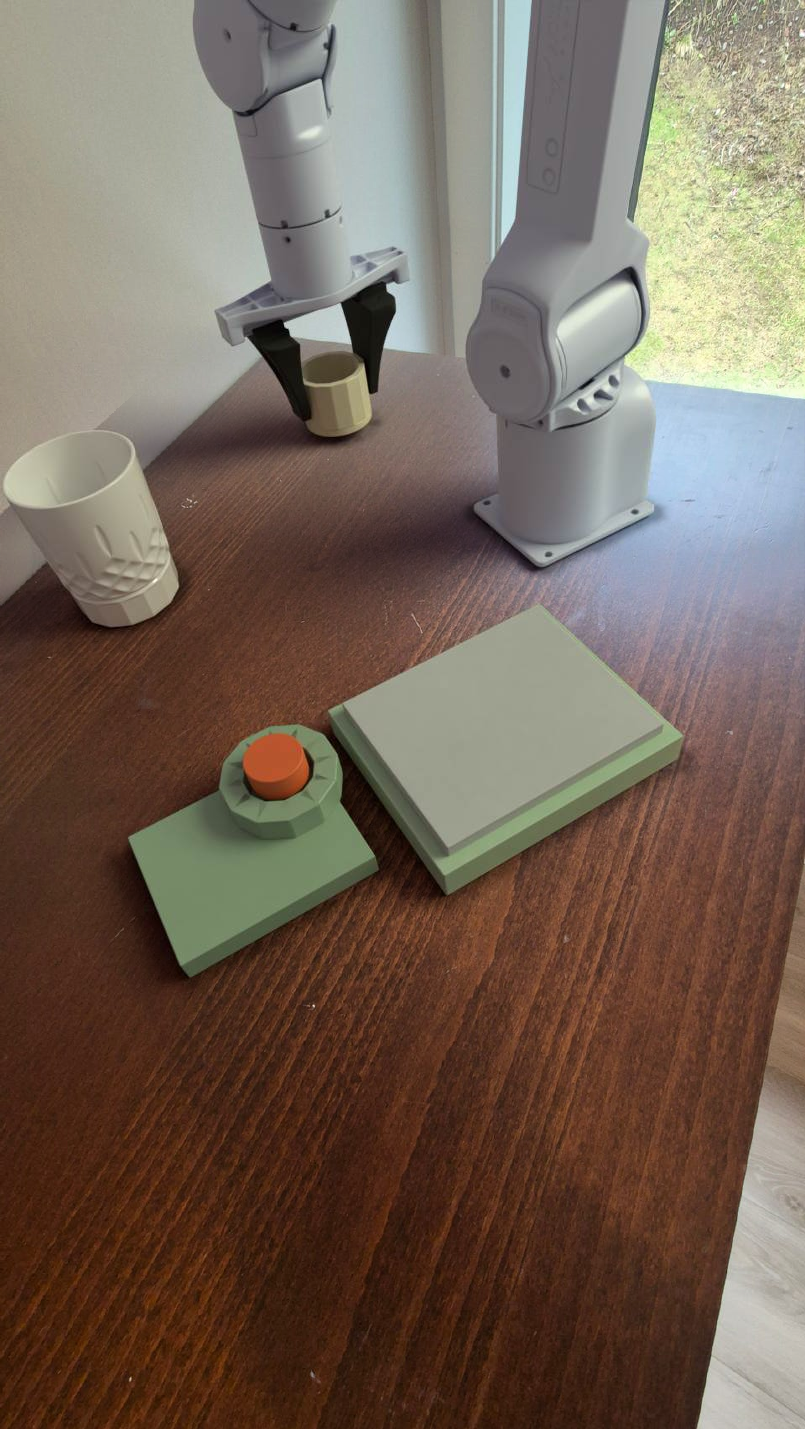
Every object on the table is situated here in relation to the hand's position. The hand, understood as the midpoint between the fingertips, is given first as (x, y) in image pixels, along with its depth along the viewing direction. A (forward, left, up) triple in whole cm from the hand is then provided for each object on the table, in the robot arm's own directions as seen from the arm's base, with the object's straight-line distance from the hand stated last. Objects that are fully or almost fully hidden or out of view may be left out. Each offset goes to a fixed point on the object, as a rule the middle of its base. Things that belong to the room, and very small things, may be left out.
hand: (336, 401), depth 65 cm
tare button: (+19, +31, +1) cm, 37 cm away
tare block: (+22, +33, -2) cm, 40 cm away
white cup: (+21, +9, -2) cm, 23 cm away
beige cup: (0, 0, -1) cm, 1 cm away
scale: (+8, +34, -2) cm, 35 cm away
